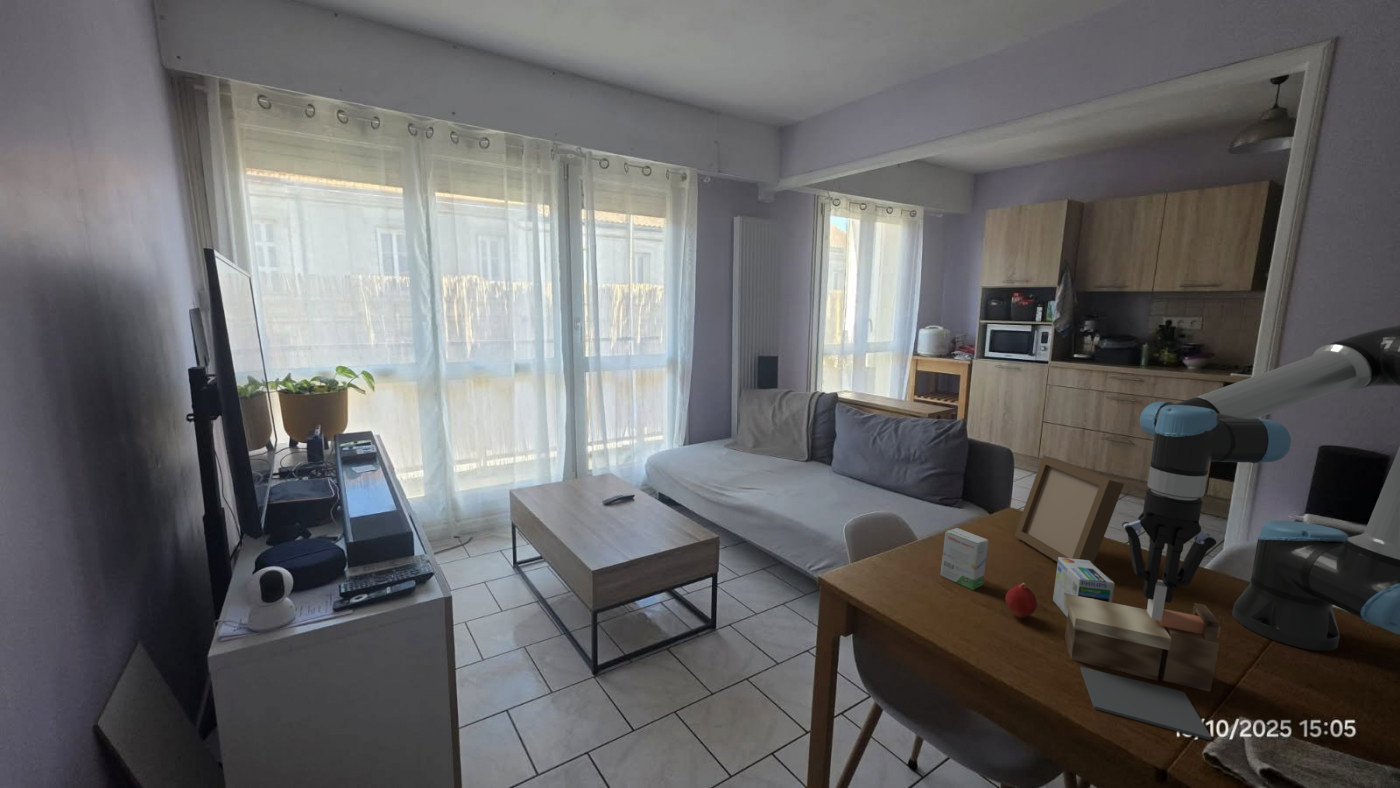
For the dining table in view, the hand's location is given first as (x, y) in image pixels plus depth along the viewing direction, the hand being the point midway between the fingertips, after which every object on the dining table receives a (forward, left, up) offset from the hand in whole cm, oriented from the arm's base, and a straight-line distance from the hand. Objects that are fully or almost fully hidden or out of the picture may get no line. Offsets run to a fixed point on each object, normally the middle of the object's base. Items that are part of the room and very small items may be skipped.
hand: (1154, 615), depth 98 cm
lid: (+6, 0, -4) cm, 7 cm away
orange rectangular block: (-5, 0, -1) cm, 5 cm away
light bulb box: (+8, -15, -11) cm, 20 cm away
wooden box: (+2, 0, -11) cm, 11 cm away
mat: (+4, +12, -11) cm, 16 cm away
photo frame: (+5, -48, -11) cm, 50 cm away
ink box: (+31, -20, -11) cm, 38 cm away
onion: (+20, -8, -11) cm, 24 cm away
